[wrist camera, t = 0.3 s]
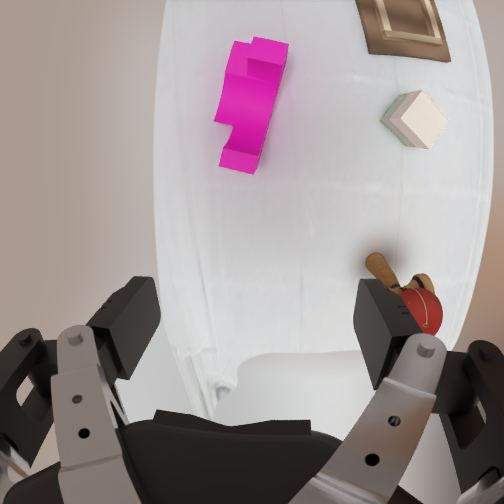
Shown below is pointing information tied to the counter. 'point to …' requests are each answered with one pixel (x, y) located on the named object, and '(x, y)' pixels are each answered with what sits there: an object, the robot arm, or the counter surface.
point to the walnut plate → (403, 28)
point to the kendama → (411, 294)
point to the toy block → (249, 99)
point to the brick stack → (415, 120)
